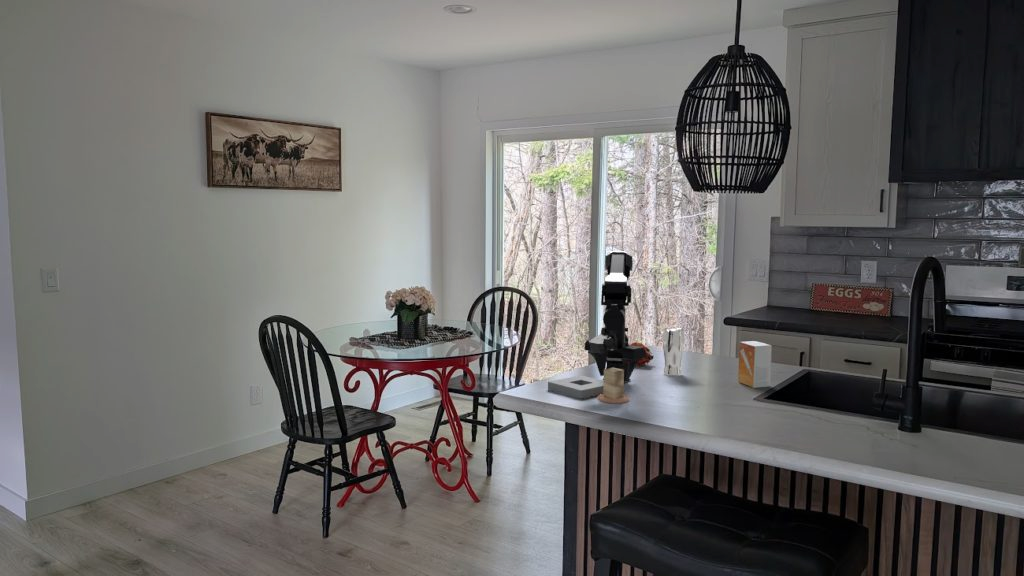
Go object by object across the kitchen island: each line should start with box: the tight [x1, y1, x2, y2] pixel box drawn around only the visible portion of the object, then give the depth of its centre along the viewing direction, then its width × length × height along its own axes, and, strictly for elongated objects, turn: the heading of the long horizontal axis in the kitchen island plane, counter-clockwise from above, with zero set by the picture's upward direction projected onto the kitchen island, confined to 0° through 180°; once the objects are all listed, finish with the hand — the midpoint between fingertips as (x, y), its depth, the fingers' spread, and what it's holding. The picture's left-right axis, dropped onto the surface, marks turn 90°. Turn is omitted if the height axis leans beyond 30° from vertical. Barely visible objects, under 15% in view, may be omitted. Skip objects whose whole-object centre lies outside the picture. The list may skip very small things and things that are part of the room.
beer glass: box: [662, 327, 686, 377], centre depth 240 cm, size 7×7×15 cm
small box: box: [737, 340, 773, 389], centre depth 227 cm, size 8×6×13 cm
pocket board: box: [547, 375, 604, 400], centre depth 218 cm, size 14×14×2 cm
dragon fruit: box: [630, 341, 654, 367], centre depth 256 cm, size 8×8×12 cm
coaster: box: [597, 394, 630, 404], centre depth 208 cm, size 9×9×1 cm
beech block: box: [603, 368, 625, 400], centre depth 208 cm, size 4×4×8 cm
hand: (613, 378), depth 207 cm, fingers open, 9 cm apart
